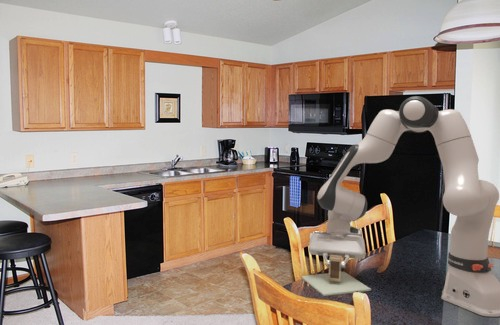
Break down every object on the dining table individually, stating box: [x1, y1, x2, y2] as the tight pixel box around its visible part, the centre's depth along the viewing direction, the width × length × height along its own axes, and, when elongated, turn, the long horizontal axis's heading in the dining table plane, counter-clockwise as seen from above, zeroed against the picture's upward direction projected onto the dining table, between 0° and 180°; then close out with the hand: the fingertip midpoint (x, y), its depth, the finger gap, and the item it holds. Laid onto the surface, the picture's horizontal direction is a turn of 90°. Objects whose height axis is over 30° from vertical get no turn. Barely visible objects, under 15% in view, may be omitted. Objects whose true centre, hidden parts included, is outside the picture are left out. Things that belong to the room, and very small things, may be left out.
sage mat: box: [300, 271, 372, 297], centre depth 155 cm, size 18×18×1 cm
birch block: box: [328, 255, 343, 281], centre depth 155 cm, size 4×4×8 cm
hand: (335, 266), depth 155 cm, fingers closed on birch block, 4 cm apart
